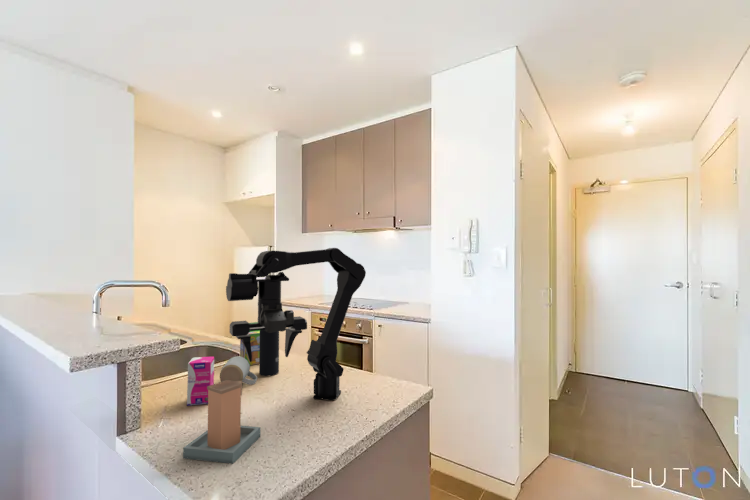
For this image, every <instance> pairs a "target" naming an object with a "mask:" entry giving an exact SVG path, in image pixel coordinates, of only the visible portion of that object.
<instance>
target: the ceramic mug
mask: <svg viewBox="0 0 750 500" xmlns="http://www.w3.org/2000/svg"><path fill="white" fill-rule="evenodd" d="M250 366H251V365H249V363H248V361H247V360H246V359H245V358H243V357H240V355H238V356H232V357H231V358H229V359H228V360H227V361H226V363H225V364H224V366H223V367H222V368H221V370H220V372H219V380H220V382H223V381H226V380H230V381H242V384H243V383H244V384H247V385H251V386H252V385H254V384H256V383H257V380H258V376H257V375H256V374H255V373H254V372H252V371H250V370H251V367H250ZM247 377H249V378H251V379H249V378H247Z"/></svg>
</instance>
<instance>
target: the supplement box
mask: <svg viewBox="0 0 750 500" xmlns="http://www.w3.org/2000/svg"><path fill="white" fill-rule="evenodd" d="M214 379H215V356H214V355H213V356H200V357H199V356H196V357H192V358H191V359H190V361H189V362H188V363H187V390H186V391H187V392H186V393H187V394H186V395H187V396H186V406H187V407H188V406H198V405H208V390H207V386H210V385H214V384H215V382H214V381H215V380H214Z"/></svg>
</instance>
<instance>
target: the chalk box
mask: <svg viewBox="0 0 750 500" xmlns="http://www.w3.org/2000/svg"><path fill="white" fill-rule="evenodd" d="M248 323H249V324H252V323H258V321H255V322H248ZM249 335H250V336H251V352H252V362H250V361H249V359H248V356H247V353H246V350H245V347H244V345H243V343H242V341H241V339H239V343H240V344H239V346H240V347H239V356H240V357H243V358H245V359H246V360H247V361H248V363H249V365H250V366H253V365H259V352H260V330H256V331H250V332H249Z"/></svg>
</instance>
